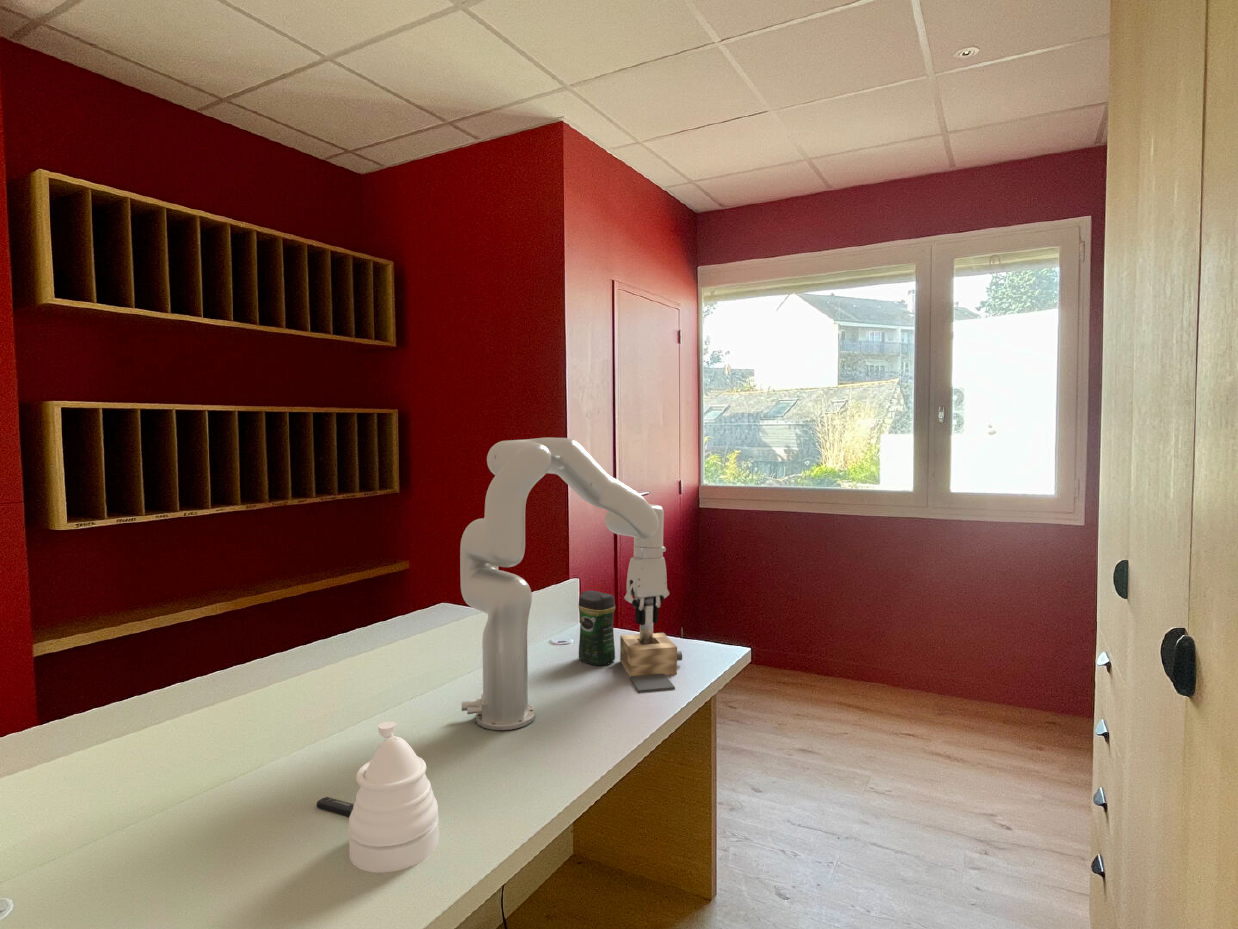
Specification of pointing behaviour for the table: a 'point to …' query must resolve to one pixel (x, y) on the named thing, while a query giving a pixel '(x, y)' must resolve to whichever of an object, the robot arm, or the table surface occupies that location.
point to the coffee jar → (596, 628)
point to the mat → (651, 683)
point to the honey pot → (393, 809)
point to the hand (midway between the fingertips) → (646, 622)
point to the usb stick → (335, 806)
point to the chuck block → (649, 655)
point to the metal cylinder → (647, 622)
